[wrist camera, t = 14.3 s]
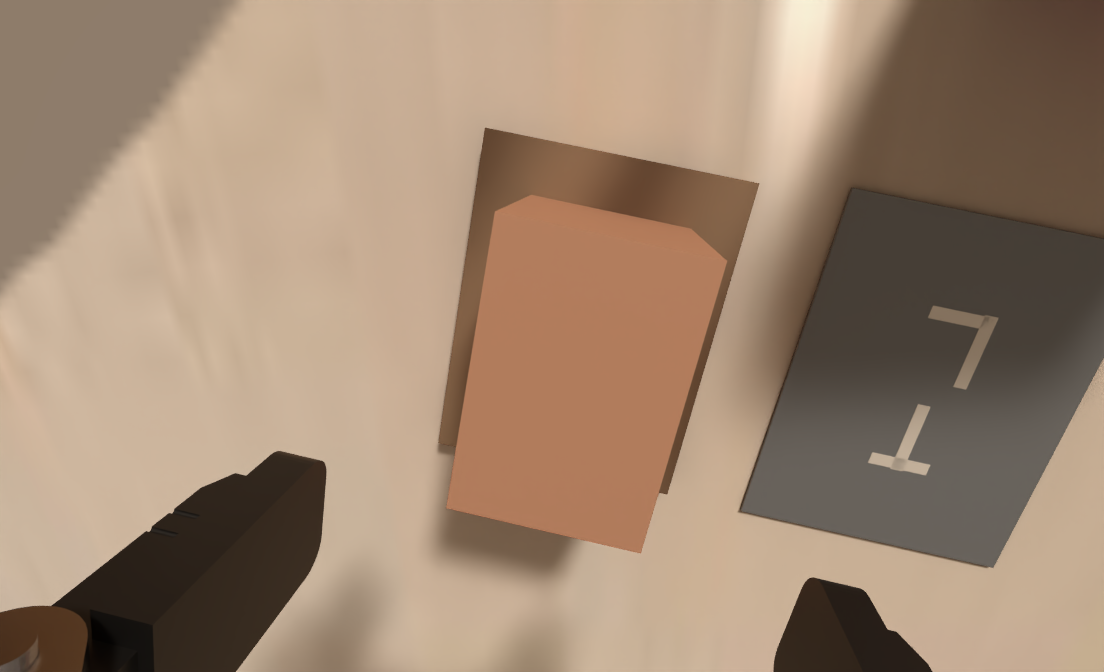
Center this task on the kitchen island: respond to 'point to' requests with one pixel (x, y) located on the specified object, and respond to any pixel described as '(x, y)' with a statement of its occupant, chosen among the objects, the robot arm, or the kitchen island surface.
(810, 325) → the tile
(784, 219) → the kitchen island surface
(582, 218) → the terracotta block
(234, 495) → the robot arm
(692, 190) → the walnut board
